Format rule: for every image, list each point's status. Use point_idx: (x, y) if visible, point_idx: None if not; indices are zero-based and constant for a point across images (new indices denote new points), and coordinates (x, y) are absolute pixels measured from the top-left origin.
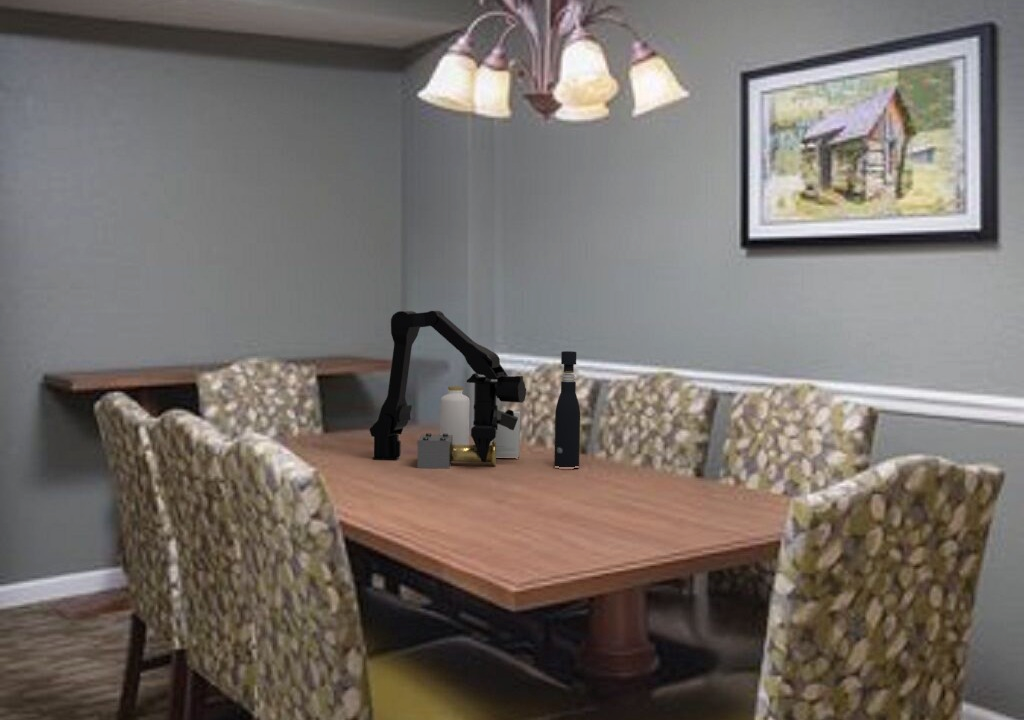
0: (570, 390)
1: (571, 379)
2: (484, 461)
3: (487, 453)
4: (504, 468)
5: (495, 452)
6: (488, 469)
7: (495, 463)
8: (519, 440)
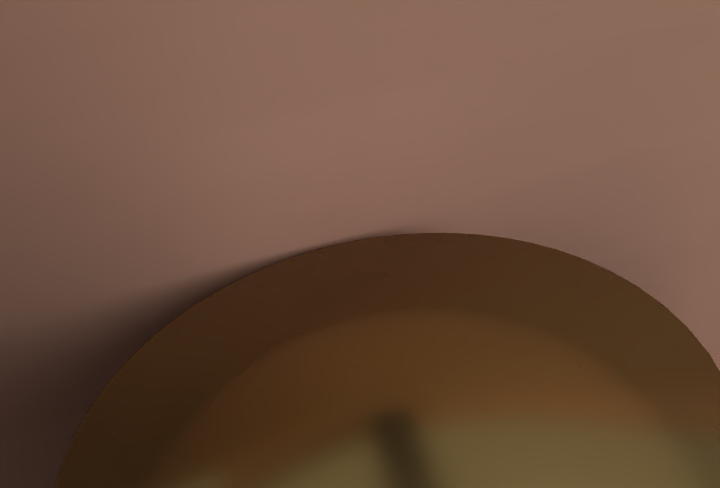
0: None
1: None
2: None
3: None
4: (527, 47)
5: (681, 327)
6: (638, 247)
7: (466, 235)
8: None
